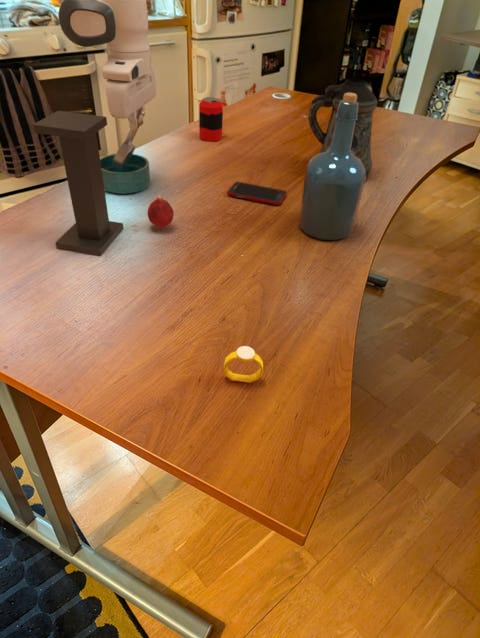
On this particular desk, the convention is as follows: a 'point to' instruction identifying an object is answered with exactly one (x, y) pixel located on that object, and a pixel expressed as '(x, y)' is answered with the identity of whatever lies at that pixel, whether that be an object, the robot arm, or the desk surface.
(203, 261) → the desk surface
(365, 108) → the beer stein
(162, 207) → the onion
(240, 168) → the desk surface
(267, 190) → the cell phone
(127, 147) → the grey scoop
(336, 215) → the wine bottle
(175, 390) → the desk surface
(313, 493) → the desk surface
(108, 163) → the bowl
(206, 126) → the soda can
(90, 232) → the brown pedestal stand
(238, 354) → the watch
